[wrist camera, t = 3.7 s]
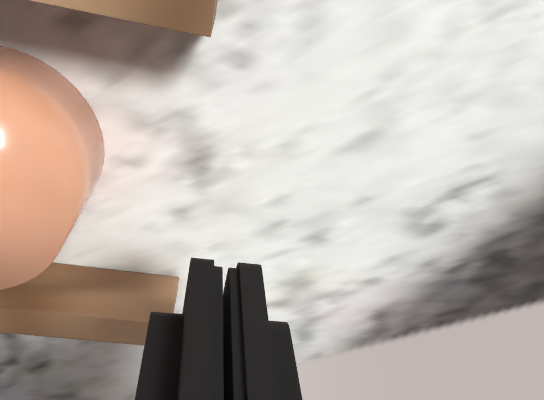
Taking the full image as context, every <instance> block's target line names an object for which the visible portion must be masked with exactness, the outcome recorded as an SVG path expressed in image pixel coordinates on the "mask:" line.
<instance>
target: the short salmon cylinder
mask: <svg viewBox="0 0 544 400" xmlns="http://www.w3.org/2000/svg"><path fill="white" fill-rule="evenodd" d="M103 164H104V141H103V136H102V132H101V129H100V126H99V123H98V120H97V118H96V116H95V114H94V112H93V110H92V109H91V107H90V106H89V104H88V103H87V101H86V99H85V98H84V97H83V96H82V95H81V93H80V92H79V91H78V90H77V88H76V87H75V86H73V85H72V84H71V83H70V82H69V81H68V80H67V79H66V78H65V77H64V76H63V75H61V74H60V73H59V72H57V71H56V70H55V69H53V68H52V67H50V66H49V65H47V64H45V63H44V62H42V61H40V60H38V59H36V58H34V57H32V56H30V55H28V54H25V53H23V52H20V51H17V50H14V49H10V48H6V47H2V46H0V290H2V289H6V288H11V287H14V286H17V285H20V284H22V283H25V282H27V281H29V280H31V279H32V278H34V277H36V276H37V275H39V274H40V273H41V272H43V271H44V270H45V269H46V268H47V267H48V266H49V265H50V264H51V263H52V262H53V261H54V259H55V258H56V256H57V255H58V253H59V252H60V250H61V248H62V246H63V244H64V242H65V241H66V239H67V237H68V235H69V233H70V231H71V229H72V228H73V226H74V224H75V222H76V220H77V218H78V216H79V215H80V213H81V211H82V209H83V207H84V205H85V204H86V202H87V200H88V198H89V196H90V194H91V192H92V191H93V189H94V187H95V185H96V183H97V181H98V179H99V177H100V175H101V172H102V168H103Z"/></svg>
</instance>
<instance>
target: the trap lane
mask: <svg viewBox="0 0 544 400" xmlns="http://www.w3.org/2000/svg"><path fill="white" fill-rule="evenodd" d="M30 1H35V2H40V3H45V4H50V5H55V6H60V7H64V8H69V9H74V10H79V11H84V12H89V13H94V14H99V15H104V16H109V17H114V18H118V19H123V20H128V21H133V22H138V23H143V24H148V25H153V26H158V27H163V28H168V29H172V30H177V31H182V32H187V33H192V34H197V35H202V36H207V37H211V32H212V28H213V24H214V20H215V14H216V7H217V0H30ZM178 281H179V277H171V276H162V275H154V274H145V273H137V272H128V271H119V270H111V269H102V268H94V267H85V266H76V265H68V264H59V263H51V264H50V265H49V266H48V267H47V268H46V269H45V270H44V271H43V272H41V273H40V274H39V275H37V276H36V277H34V278H32V279H31V280H29V281H27V282H25V283H22V284H20V285H17V286H14V287H11V288H6V289H2V290H0V332H3V333H14V334H25V335H35V336H46V337H57V338H68V339H79V340H90V341H101V342H112V343H123V344H134V345H145V340H146V335H147V329H148V323H149V318H150V313H151V312H162V313H174V308H175V302H176V295H177V288H178Z"/></svg>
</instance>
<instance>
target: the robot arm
mask: <svg viewBox="0 0 544 400" xmlns="http://www.w3.org/2000/svg"><path fill="white" fill-rule="evenodd" d="M135 400H302V395H301V390H300V384H299V378H298V373H297V367H296V361H295V356H294V350H293V344H292V339H291V333H290V328H289V325H288V323H287V322H278V321H268V314H267V306H266V298H265V290H264V282H263V274H262V267H261V265H258V264H248V263H238V264H237V267H236V268H229V269H228V272H227V277H226V282H225V287H224V292H223V278H222V267H217V266H214V260H209V259H199V258H191V261H190V267H189V274H188V280H187V287H186V293H185V300H184V307H183V313H182V314H175V313H162V312H151V313H150V318H149V323H148V329H147V335H146V340H145V346H144V352H143V357H142V363H141V369H140V374H139V380H138V386H137V391H136V397H135Z"/></svg>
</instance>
